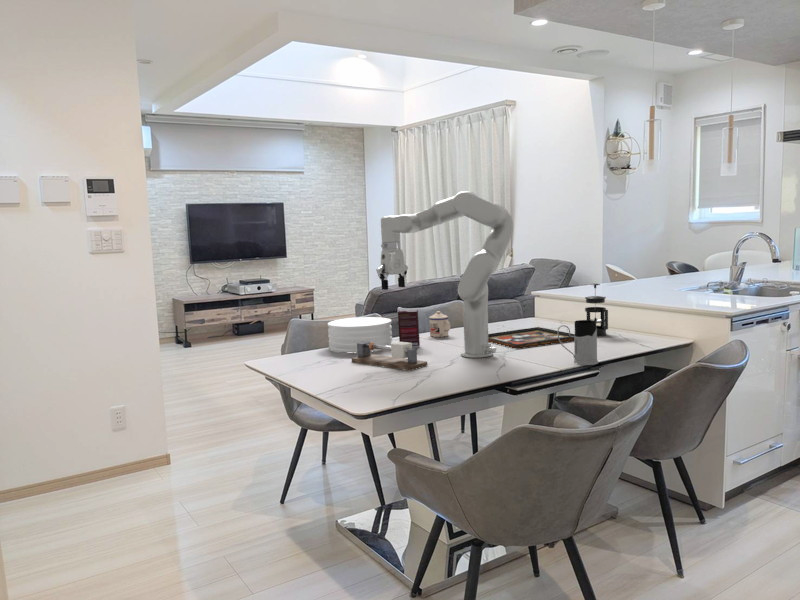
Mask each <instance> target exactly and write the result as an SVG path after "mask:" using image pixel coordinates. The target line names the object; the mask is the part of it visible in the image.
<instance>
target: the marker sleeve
mask: <svg viewBox="0 0 800 600" xmlns="http://www.w3.org/2000/svg"><path fill="white" fill-rule="evenodd" d="M406 348H408V349H411V348H412V343H408V342H399V341H396V342H392V344H391V351H390V352H391V353H390V354H391V357H396V358H405V359H408V357H407V353H406Z"/></svg>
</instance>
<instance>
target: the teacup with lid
mask: <svg viewBox="0 0 800 600" xmlns="http://www.w3.org/2000/svg"><path fill="white" fill-rule="evenodd" d="M428 320H429V335H430V337H432V336H433V338H445V337H448V336H449V332H450V330H451V323H450V322H449V316H448V315H446V314H443V313H442V312H441V311H440V310H438V311H436V312H435V313H434V314H432V315H430V316H429V318H428ZM444 336H445V337H444Z"/></svg>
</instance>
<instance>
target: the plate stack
mask: <svg viewBox="0 0 800 600" xmlns="http://www.w3.org/2000/svg"><path fill="white" fill-rule="evenodd" d="M391 324H392V319H391V318H388V317H387V318H386V317H379V316H377V317H376V316H375V317H374V316H363V317H362V316H361V317H359V316H358V317H348V318H346V317H345V318H341V319H335V320H332V321H329V322H327V327H328V328H327V333H328V336H327V337H328V339H329V340H328V350H329V349H330V350H329V351H331V350H332V351H331V352H333V351H335V352H334V353H339V352H353V353H352V354H357V343H360V342H370V343H374V344H375V345H383V346H391V344H392V343H393V336H392V335H393V331H392V328H393V327H392V325H391ZM378 350H381V349H374V350H371V353H373V352H372V351H375V352H379V351H378ZM381 351H382V350H381ZM354 352H356V353H354Z"/></svg>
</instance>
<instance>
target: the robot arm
mask: <svg viewBox="0 0 800 600" xmlns="http://www.w3.org/2000/svg"><path fill="white" fill-rule="evenodd" d="M463 217H467V218H469V219H471V220H473V221H475V222H476V223H479V224H482V225H483V226H486V227H489V228H490V231H489V233H488V235H487V237H486V238H485V241H484V243H483V245H482V247H481V249H480V251H478V252H476V253H474V255H473V256H472V257H470V260H469V261H468V263H467V265H466V268H465V270H464V271H463V274H462V276H461V278H460V280H459V283H458V286H457V294H458V296H459V298H460V299H461V300H462V301H463V308H462V311H463V336H464V337H463V338H464V339H463V343H464V345H463V347H464V350H462V351H461V352H460V356H462V357H464V358H472V359H474V358H475V359H477V358H479V359H480V358H488V357H491V356H493V354H495V353H496V351H497V347H495V346H492V343H490V342H489V341H488V334H489V310H488V308H489V307H488V306H489V302H488V301H489V286H488V282H489V280H490V278H491V276H492V275H493V274H494V273H495V272H496V271H497V270H498V267H499V265H500V263H501V260H502V258H503V257H504V254H505V252H506V250H507V247H508V245H509V243H510V241H511V239H512V235H513V232H514V222H513V218H512V216H511V214H510V211H508V210H507V209H506V208H505V207H504V206H503V205H501V204H497V203H493V202H490V201H487V199H484V198H481V197H479V196H478V195H476V193H474V192H471V191H467V190H464V191H463V190H462V191H460V192H458V193H456V195H453V196H452V197H448V198H446V199H442V200H438V201H437V202H435V203H434V204H433V205H432V206H431V207H429V208H426V209H424V210H421V211H418V212H416V213H411V214H409V213H405V214H400V215H385V216H382V217H381V218H380V230H381V231H380V233H381V234H380V235H381V245H380V246H381V249H382V250H381V251H380V252H381V253H380V266H379V267H378V268H377V269H376V274H377V276H378V278H379V280H380V282H381V290H385V291H386V290H387V291H388V290H389V280H388V277H389V276H390V275H397V276H398V278H397V282H398V283H397V284H398V288H406V282H405V278H406V275H407V273H408V269H409V266H408V265H406V264H405V263H406V262H405V256H404V251H403V249H401V234H414V233H418V232H421V231H423V230H424V231H425V230H427V229H430V228H432V227H435V226H438V225H442V224H444V223H448V222H451V221H453V220H456V219H459V218H463Z"/></svg>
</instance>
